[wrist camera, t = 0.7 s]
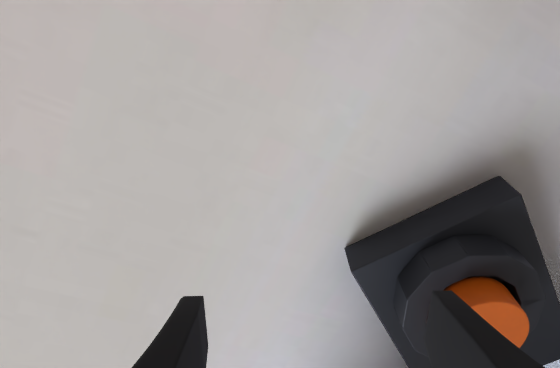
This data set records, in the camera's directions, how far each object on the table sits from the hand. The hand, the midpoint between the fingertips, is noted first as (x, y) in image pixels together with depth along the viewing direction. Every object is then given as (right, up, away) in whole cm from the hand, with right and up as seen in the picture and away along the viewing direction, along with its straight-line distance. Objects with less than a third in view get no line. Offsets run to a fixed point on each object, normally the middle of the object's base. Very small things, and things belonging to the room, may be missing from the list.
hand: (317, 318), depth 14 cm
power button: (+8, -2, +8) cm, 12 cm away
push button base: (+9, -2, +12) cm, 16 cm away
